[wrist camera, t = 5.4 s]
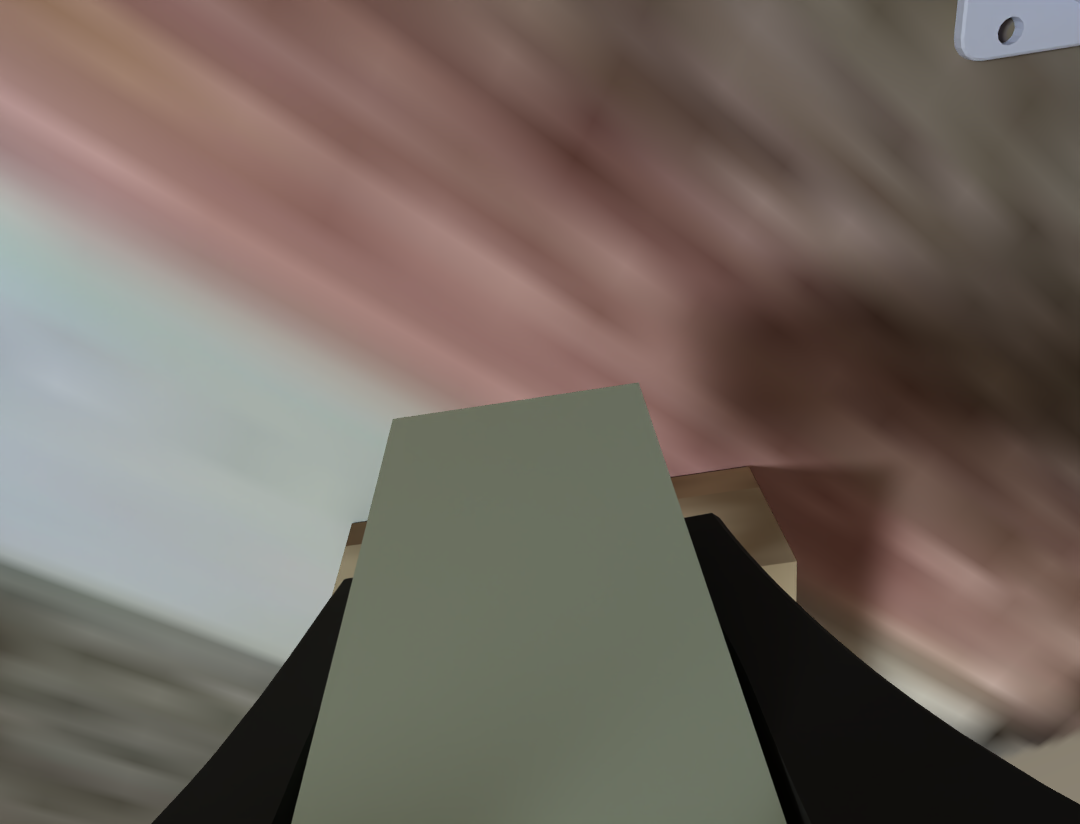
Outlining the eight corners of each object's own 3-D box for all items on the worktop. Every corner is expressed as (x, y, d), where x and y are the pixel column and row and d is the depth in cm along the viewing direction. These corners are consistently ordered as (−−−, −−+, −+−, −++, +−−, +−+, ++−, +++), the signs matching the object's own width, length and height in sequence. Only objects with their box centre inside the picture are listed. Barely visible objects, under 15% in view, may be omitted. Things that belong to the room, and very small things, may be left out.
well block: (748, 466, 21) (797, 561, 18) (753, 736, 27) (791, 850, 23) (351, 523, 22) (323, 627, 18) (434, 779, 27) (424, 897, 24)
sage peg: (638, 382, 13) (807, 886, 6) (657, 574, 15) (799, 1126, 8) (392, 419, 13) (258, 955, 6) (443, 604, 15) (388, 1175, 8)
